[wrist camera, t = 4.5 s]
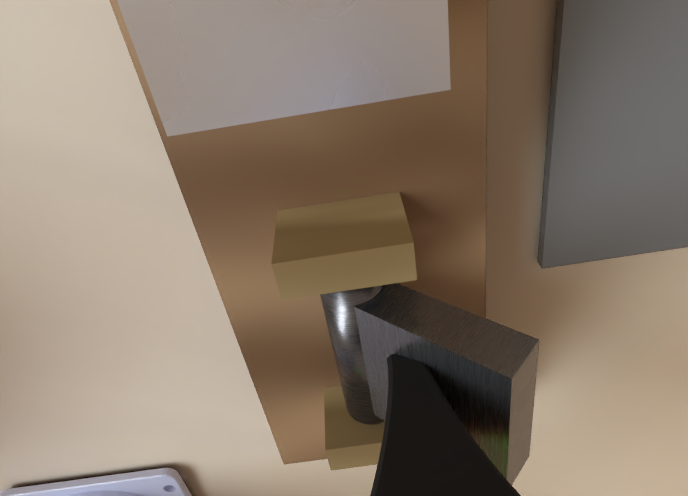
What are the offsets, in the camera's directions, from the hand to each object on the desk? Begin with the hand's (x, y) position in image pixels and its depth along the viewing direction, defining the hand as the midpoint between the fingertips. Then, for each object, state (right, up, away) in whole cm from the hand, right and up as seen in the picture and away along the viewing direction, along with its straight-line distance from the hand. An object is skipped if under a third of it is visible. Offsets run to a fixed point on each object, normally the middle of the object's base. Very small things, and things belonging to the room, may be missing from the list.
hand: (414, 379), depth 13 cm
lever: (-1, +1, +1) cm, 2 cm away
